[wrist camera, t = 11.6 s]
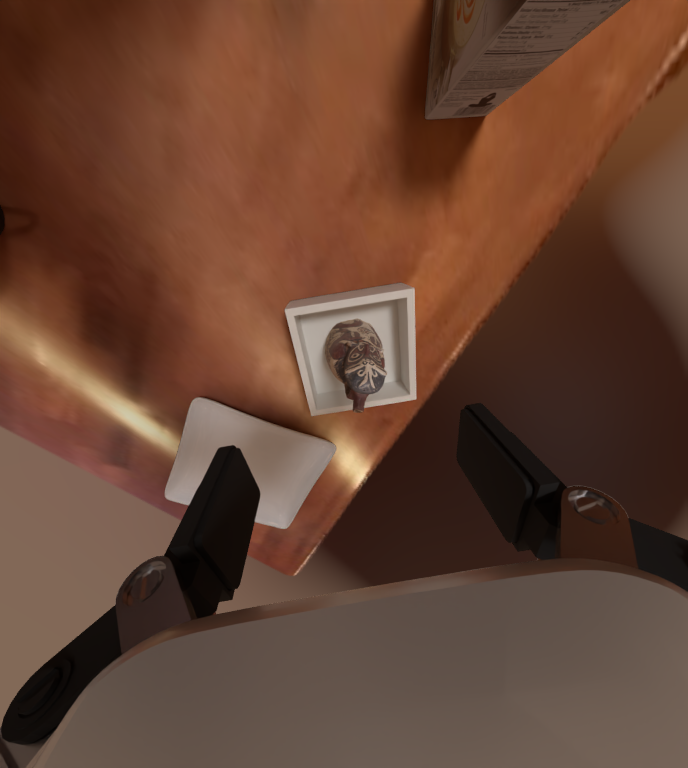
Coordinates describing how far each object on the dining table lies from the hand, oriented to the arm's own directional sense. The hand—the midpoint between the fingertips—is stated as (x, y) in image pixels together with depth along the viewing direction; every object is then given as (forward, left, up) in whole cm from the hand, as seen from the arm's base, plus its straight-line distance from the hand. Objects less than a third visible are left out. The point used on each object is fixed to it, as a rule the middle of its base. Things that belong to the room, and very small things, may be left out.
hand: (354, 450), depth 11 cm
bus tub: (+4, +2, -24) cm, 25 cm away
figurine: (+4, +2, -24) cm, 24 cm away
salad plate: (+21, -17, -25) cm, 37 cm away
